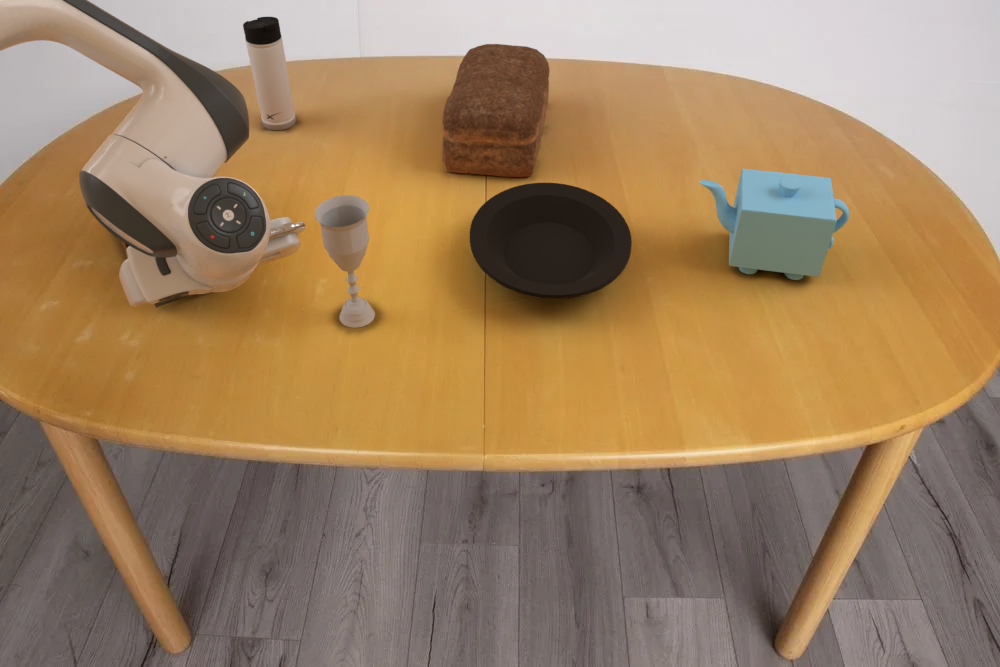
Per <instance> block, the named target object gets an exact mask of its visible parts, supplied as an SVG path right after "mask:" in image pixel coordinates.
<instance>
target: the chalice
mask: <svg viewBox="0 0 1000 667" xmlns="http://www.w3.org/2000/svg"><path fill="white" fill-rule="evenodd" d="M369 211H370V205H369V202H367V201H366V199H364V198H362V197H360V196H356V195H352V194H348V195H347V194H342V195H337V196H333V197H331V198H328V199H325V200H324V201H322V202H321V203H319V205H318V206H317V207H316V208H315V211H314V218H315V220H316V221H317V222H318V223H319V224H320V228H321V229H320V230H321V236H322V244H323V247H324V249H325V251H326V253H327V254H328V256H329V257H330V258H331V260H332V261H333V262H334V263H335V265H337V267H338V268H339V269H340V270H341V271H343V272H347V277H346V278H345V281H346V282H347V283H348V285H349V286H348V287H347V289H346V291H347V293H348V294H349V295H350V298H348V299H347V300H345V302H344V303H343V304H342V308H341V310H340V313H339V316H338V318H339V322H340V323H341V324H342V325H344V326H345V327H349V328H354V329H355V328H362V327H366V326H368V325H369V324H371V323H372V322H373V321H374V319H375V317H376V312H375V310H374V309H373V307H372V306H371V304H369V302H368V300H366V299H365V298H364V297H360V296H359V295H358V294H359V292H360V291H361V288H360V286H359V285H357V281H358V279H359V278H358V276H357V274H356V273H355V271H356V270H357V269H359V268H360V267H361V264H362V263H363V259H364V257H365V255H366V253H367V250H368V245H369V241H370V234H369V228H368V226H369V225H368V219H367V216H368V214H369Z"/></svg>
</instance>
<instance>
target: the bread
mask: <svg viewBox="0 0 1000 667" xmlns="http://www.w3.org/2000/svg"><path fill="white" fill-rule="evenodd" d="M550 71H551V70H550V64H549V62H548V60H547V58H546V56H545V55H544V54H543V53H542V52H541V51H539V50H538V49H536V48H533V47H530V46H526V45H525V46H524V45H512V44H503V43H502V44H501V43H485V44H481V45H477V46H475V47H472V48H470V49H469V50H468V51H467V52H466V54H465V55H464V56H463V57H462V60H461V62H460V63H459V67H458V70H457V73H456V76H455V82H454V83H453V88H452V90H451V92H450V94H449V96H448V97H447V99H446V102H445V105H444V109H443V114H442V126H443V137H442V138H443V139H442V150H441V152H442V163H443V164H444V166H445V169H446V171H447V172H451V173H458V174H469V175H470V174H471V175H483V176H494V177H507V178H526V177H532V175H533V173H534V171H535V167H536V164H537V159H538V154H539V150H540V146H541V141H542V140H541V139H542V135H543V131H544V125H545V122H546V121H545V120H546V114H547V109H548V102H549V97H550V96H549V95H550V94H549V93H550V78H549V77H550Z"/></svg>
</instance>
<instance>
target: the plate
mask: <svg viewBox="0 0 1000 667" xmlns="http://www.w3.org/2000/svg"><path fill="white" fill-rule="evenodd" d="M632 242H633V241H632V233H631V230H630V227H629V225H628V222H627V221H626V219H625V218H624V216H623V215H622V214H621V212H620V211H619V210H618V209H617V208H616V207H615V206H614V205H613V204H612V203H610V202H609V201H607V200H606V199H604V198H603V197H601V196H600V195H598V194H595V193H594V192H592V191H589V190H587V189H585V188H581V187H578V186H574V185H570V184H565V183H558V182H532V183H531V182H530V183H525V184H520V185H517V186H513V187H510V188H508V189H505V190H503V191H500V192H499V193H497V194H494V195H493V196H492V197H490V198H489V199H487V200H486V201H485V202H484V203H483V204H482V205H481V206H480V207H479V208H478V210H477V211H476V213H475V214H474V216H473V218H472V220H471V223H470V228H469V246H470V249H471V253H472V255H473V258H474V260H475V262H476V264H477V266H479V268H480V269H481V270H482V271H483V272H484V273H485V274H486V276H488V277H489V278H490V279H492V280H493V281H494V282H496V283H497V284H499V285H500V286H502V287H503V288H506V289H508V290H510V291H513V292H515V293H517V294H521V295H524V296H528V297H532V298H538V299H547V300H567V299H574V298H579V297H584V296H586V295H590V294H593V293H595V292H598V291H600V290H603V288H606V287H607V286H609V285H610V284H612V283H613V282H614V281H615V280H616V279H618V277H619V276H620V275H621V274H622V273H623V271H624V270H625V269H626V267H627V265H628V263H629V261H630V258H631V253H632V245H633V243H632Z"/></svg>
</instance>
